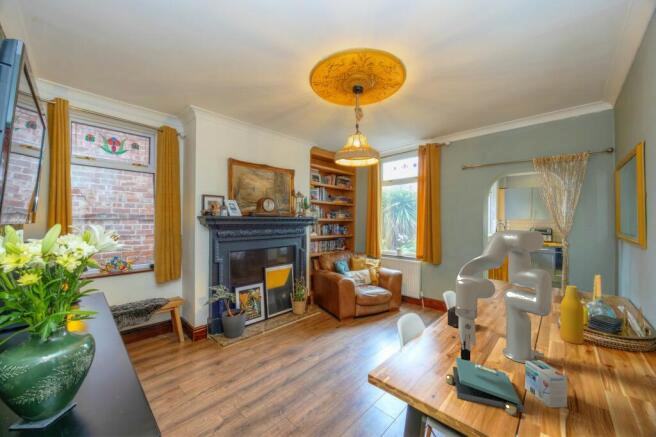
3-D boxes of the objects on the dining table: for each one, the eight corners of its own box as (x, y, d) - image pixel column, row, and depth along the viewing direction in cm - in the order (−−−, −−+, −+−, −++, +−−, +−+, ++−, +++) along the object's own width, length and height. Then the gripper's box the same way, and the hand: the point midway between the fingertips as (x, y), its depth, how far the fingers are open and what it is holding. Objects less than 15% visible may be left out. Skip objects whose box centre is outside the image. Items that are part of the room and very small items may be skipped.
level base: (505, 377, 108) (505, 371, 108) (526, 419, 85) (526, 411, 85) (444, 365, 116) (444, 360, 116) (448, 401, 93) (448, 394, 93)
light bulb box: (524, 388, 101) (524, 360, 101) (540, 387, 101) (540, 359, 101) (550, 408, 90) (550, 377, 90) (568, 407, 91) (568, 376, 91)
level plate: (504, 375, 105) (506, 369, 105) (518, 404, 89) (520, 396, 89) (455, 359, 111) (456, 353, 111) (460, 383, 95) (461, 376, 95)
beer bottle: (556, 338, 142) (556, 285, 142) (564, 335, 147) (565, 283, 147) (579, 346, 134) (579, 289, 134) (586, 342, 138) (587, 287, 138)
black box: (446, 325, 160) (446, 295, 160) (453, 320, 167) (453, 292, 167) (474, 333, 149) (474, 301, 149) (480, 328, 156) (480, 297, 156)
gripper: (480, 319, 94) (480, 371, 94) (473, 307, 108) (473, 352, 107) (457, 316, 96) (456, 367, 96) (453, 304, 110) (453, 348, 110)
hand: (465, 359), depth 102 cm, fingers closed
